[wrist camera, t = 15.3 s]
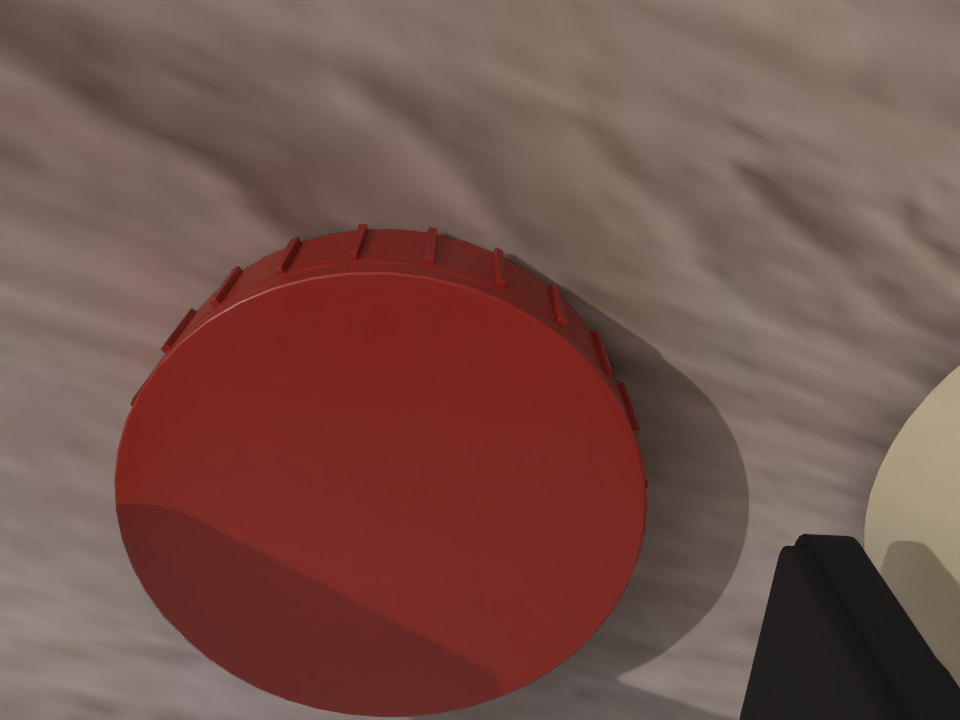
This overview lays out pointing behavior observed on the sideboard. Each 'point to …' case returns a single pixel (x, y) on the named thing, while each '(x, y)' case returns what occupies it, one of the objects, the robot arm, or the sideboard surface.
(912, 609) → the jam jar
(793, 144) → the sideboard surface
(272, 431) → the jam lid
